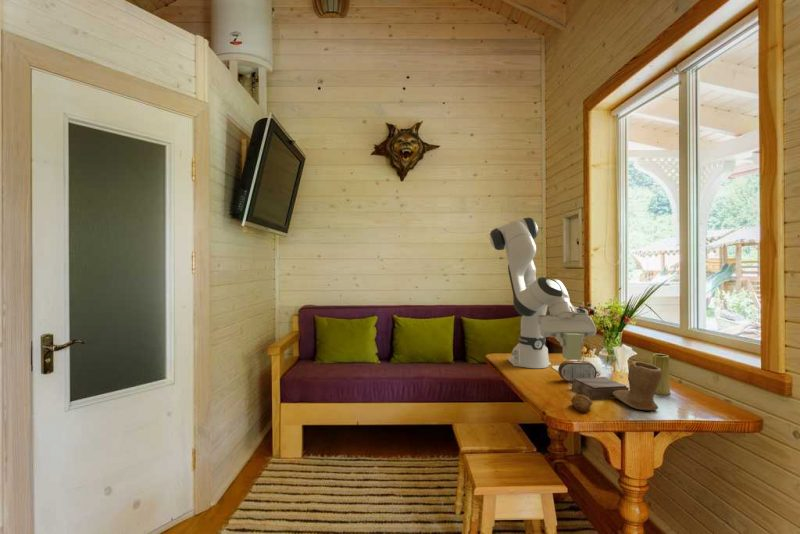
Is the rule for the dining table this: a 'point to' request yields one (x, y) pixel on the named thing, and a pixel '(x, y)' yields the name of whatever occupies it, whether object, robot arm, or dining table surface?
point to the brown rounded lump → (581, 403)
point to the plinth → (597, 387)
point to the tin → (576, 370)
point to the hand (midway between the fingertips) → (572, 345)
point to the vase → (663, 364)
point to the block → (572, 346)
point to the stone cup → (641, 386)
